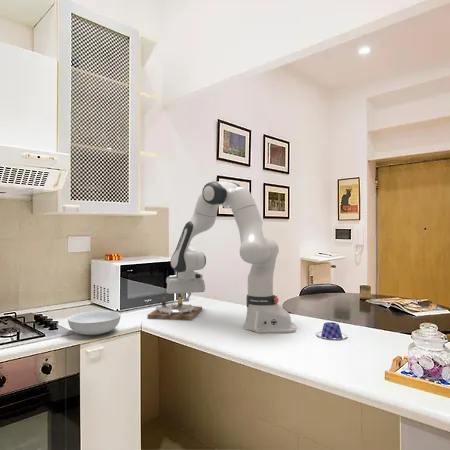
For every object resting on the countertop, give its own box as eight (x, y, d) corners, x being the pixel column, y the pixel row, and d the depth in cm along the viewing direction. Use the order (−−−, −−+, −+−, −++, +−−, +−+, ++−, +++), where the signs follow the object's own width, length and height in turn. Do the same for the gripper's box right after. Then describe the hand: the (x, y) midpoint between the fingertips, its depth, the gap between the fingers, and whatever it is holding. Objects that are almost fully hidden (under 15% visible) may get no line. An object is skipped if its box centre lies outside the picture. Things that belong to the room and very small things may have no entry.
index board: (202, 310, 196) (202, 297, 196) (191, 320, 174) (191, 305, 174) (162, 309, 200) (162, 296, 200) (147, 318, 178) (147, 304, 178)
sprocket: (200, 306, 196) (200, 296, 196) (190, 315, 175) (190, 304, 175) (163, 305, 199) (163, 295, 199) (149, 313, 178) (149, 303, 178)
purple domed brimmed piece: (349, 342, 140) (349, 328, 140) (317, 340, 142) (317, 326, 142) (344, 333, 152) (344, 320, 152) (314, 332, 154) (314, 319, 154)
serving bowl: (56, 337, 147) (56, 320, 148) (90, 324, 167) (90, 309, 168) (100, 341, 141) (100, 323, 141) (130, 327, 161) (130, 312, 161)
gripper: (166, 276, 189) (166, 303, 189) (205, 275, 195) (205, 301, 194) (165, 275, 195) (165, 301, 195) (203, 273, 201) (203, 299, 201)
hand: (185, 301), depth 195 cm, fingers closed
